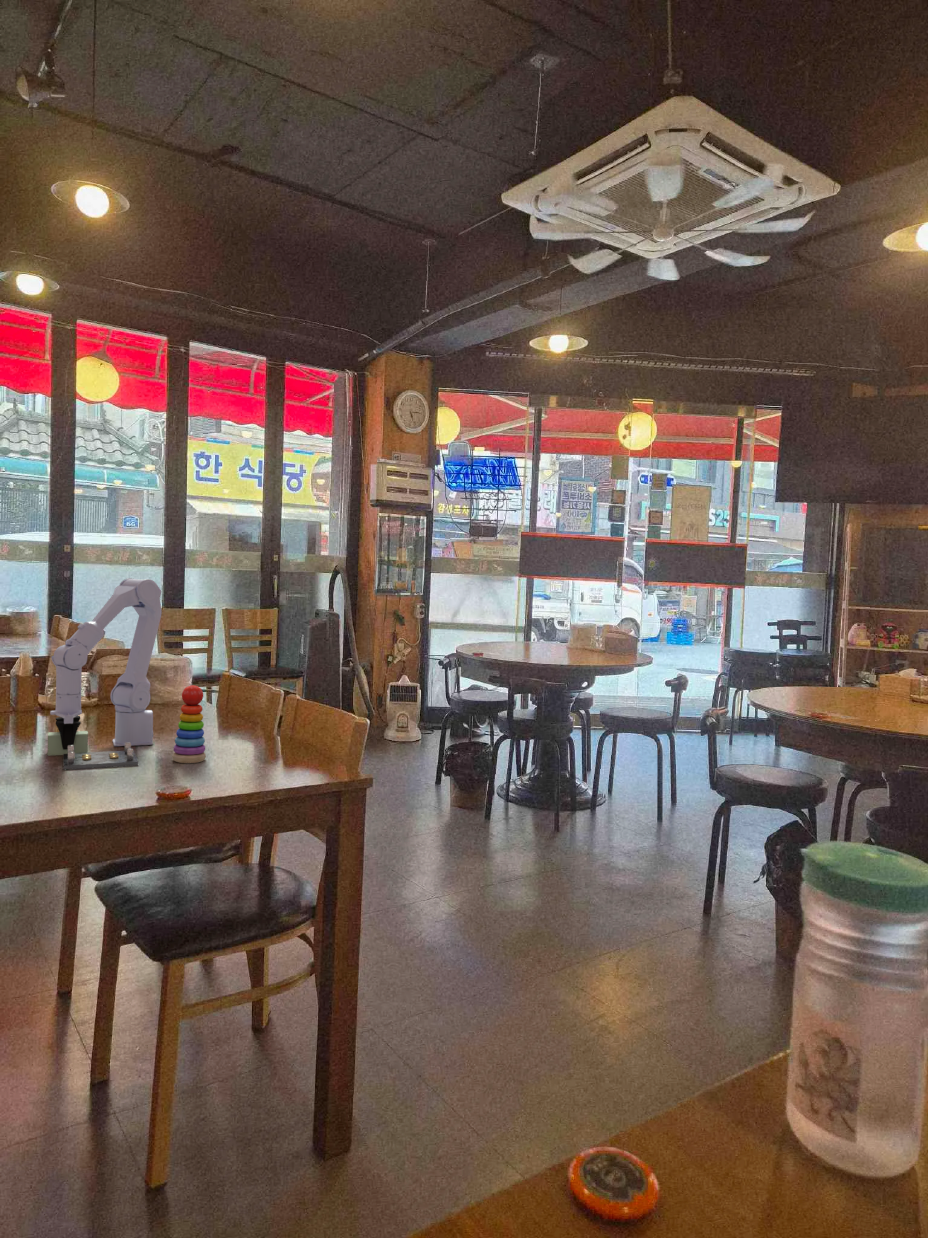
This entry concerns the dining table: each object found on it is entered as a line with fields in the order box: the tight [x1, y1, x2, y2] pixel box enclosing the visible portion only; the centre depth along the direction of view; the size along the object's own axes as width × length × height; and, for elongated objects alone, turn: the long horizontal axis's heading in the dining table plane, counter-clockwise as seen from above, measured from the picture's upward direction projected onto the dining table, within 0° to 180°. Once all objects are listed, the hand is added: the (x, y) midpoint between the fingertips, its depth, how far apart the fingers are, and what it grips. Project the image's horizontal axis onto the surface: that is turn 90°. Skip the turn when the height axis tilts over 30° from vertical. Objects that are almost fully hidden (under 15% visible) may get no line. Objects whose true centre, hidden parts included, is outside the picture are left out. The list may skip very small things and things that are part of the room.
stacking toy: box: [171, 684, 207, 764], centre depth 204 cm, size 8×8×19 cm
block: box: [47, 730, 89, 757], centre depth 207 cm, size 9×4×5 cm, turn 116°
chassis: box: [62, 742, 139, 771], centre depth 199 cm, size 16×13×4 cm
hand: (67, 747), depth 207 cm, fingers closed on block, 4 cm apart
